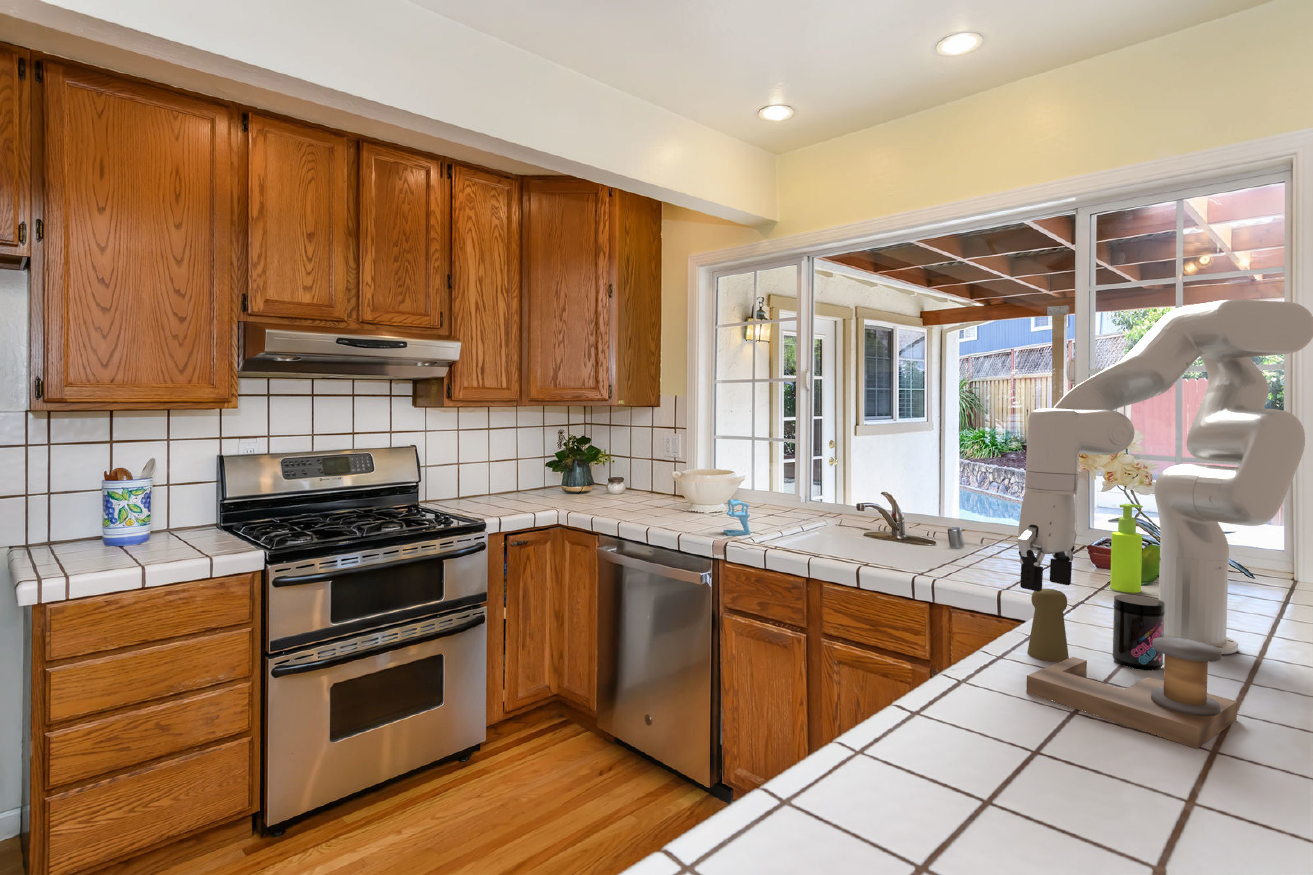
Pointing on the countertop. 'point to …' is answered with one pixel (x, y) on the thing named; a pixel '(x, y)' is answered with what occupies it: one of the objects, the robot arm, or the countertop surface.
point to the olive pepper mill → (1048, 626)
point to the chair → (741, 515)
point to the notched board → (1148, 694)
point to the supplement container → (1137, 631)
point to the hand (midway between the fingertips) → (1045, 586)
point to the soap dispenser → (1126, 554)
